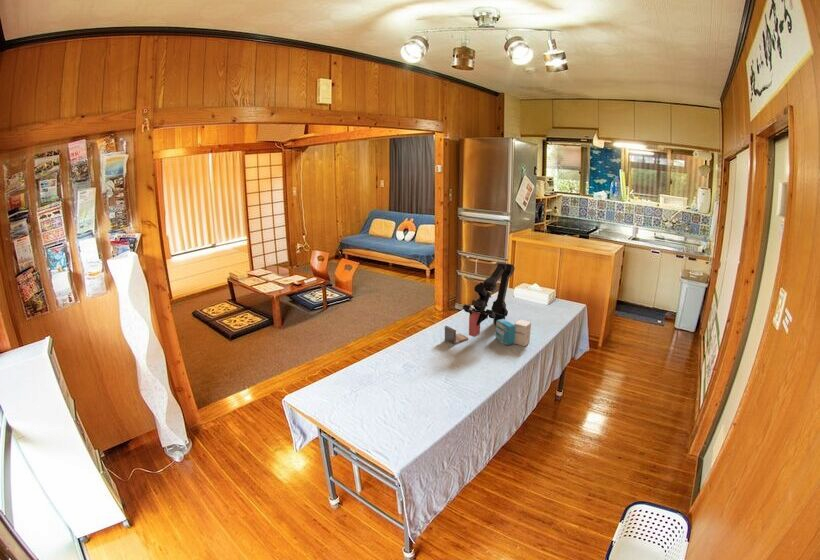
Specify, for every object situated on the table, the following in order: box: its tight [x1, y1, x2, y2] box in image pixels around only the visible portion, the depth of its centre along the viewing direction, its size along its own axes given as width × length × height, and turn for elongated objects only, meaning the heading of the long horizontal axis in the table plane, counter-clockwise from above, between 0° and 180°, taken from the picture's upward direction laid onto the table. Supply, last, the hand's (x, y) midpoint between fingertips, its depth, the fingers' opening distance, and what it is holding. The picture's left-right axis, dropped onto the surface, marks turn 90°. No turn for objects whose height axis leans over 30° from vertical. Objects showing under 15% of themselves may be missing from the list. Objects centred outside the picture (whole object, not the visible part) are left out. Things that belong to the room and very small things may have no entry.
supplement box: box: [513, 319, 532, 347], centre depth 243 cm, size 7×7×13 cm
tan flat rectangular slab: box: [456, 333, 469, 345], centre depth 251 cm, size 10×8×1 cm
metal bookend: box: [444, 325, 457, 346], centre depth 246 cm, size 2×8×9 cm, turn 36°
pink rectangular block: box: [468, 312, 481, 338], centre depth 242 cm, size 6×4×12 cm, turn 142°
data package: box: [495, 318, 515, 346], centre depth 245 cm, size 12×4×12 cm, turn 26°
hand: (473, 324), depth 241 cm, fingers closed on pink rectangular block, 4 cm apart
